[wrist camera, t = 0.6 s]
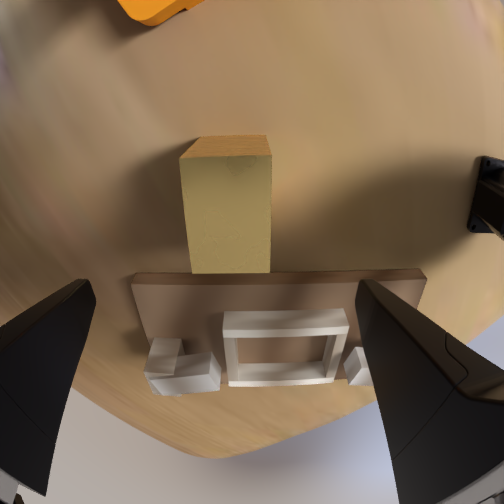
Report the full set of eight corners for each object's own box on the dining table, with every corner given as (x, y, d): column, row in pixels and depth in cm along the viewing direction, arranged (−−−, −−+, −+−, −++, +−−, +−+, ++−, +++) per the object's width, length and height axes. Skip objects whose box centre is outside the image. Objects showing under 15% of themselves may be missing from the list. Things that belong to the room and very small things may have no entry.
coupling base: (419, 268, 23) (450, 311, 18) (384, 362, 29) (399, 404, 24) (136, 272, 23) (112, 321, 18) (165, 369, 29) (154, 414, 24)
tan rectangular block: (200, 136, 18) (179, 158, 13) (265, 134, 18) (271, 155, 13) (206, 223, 21) (192, 273, 16) (265, 222, 21) (269, 272, 16)
